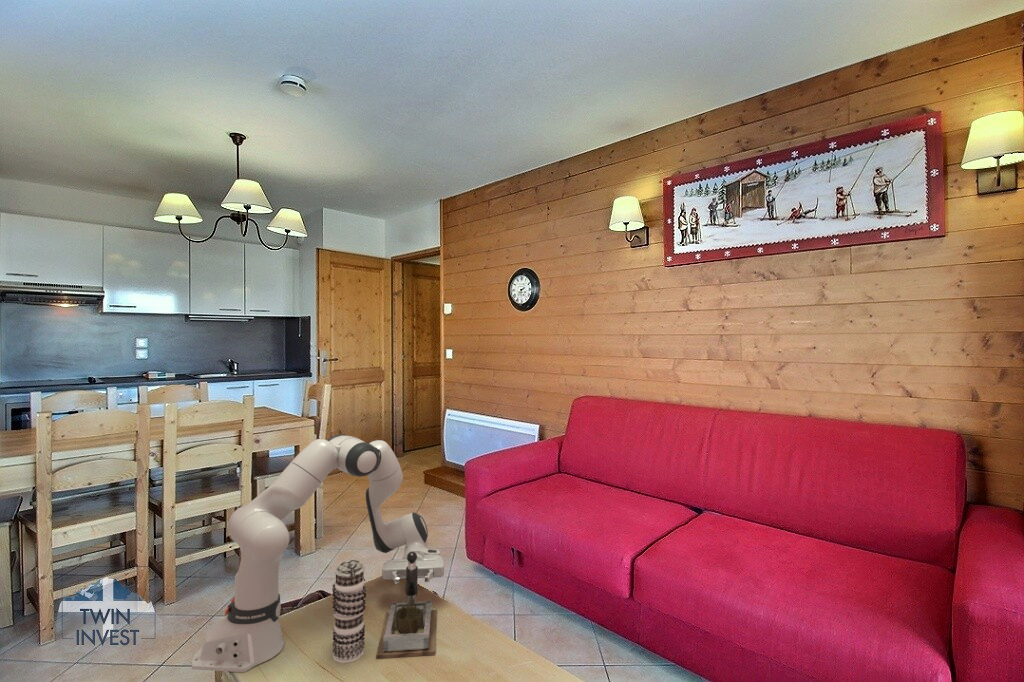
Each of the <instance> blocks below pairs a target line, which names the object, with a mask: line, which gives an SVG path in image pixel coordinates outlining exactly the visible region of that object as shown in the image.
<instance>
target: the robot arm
mask: <svg viewBox="0 0 1024 682" xmlns="http://www.w3.org/2000/svg"><path fill="white" fill-rule="evenodd" d="M394 452H395V451H393V449H392V448H391V447H390V445H389V444H388V443H387V442H386V441H384V440H381V439H378V440H377V439H376V440H373V441H371V442H369V443H368V442H367V441H364V440H361V439H360V438H358V437H357V436H351V435H348V434H343V433H341V434H340V433H339V434H334V435H333V436H330V437H329V438H328V439H323V438H318V439H314V440H313V441H311V443H309V444H308V445H307V446H305V447H304V448H303V449H302V450H301V451H299V453H298V454H297V455H296V456H295V457H294V458H293V459H292V461H291V462H290V463H288V465H287V466H286V467H285V468H284V469H283V471H282V472H281V473H280V475H278V477H277V478H276V479H275V480H274V481H273V482H272V483H271V484H270V485H269V486H268V487H267V488H266V489H264V491H261V493H259V494H258V495H257V496H256V497H255V498H254V499H252V500H251V501H250V502H248V503H247V504H245V505H242V506H241V507H238V508H237V509H236V510H235V511H233V513H232V514H231V515H230V517H229V520H228V523H227V525H228V526H227V527H228V528H227V529H228V532H229V535H230V538H231V540H233V541H234V543H235V544H237V545H238V547H239V549H240V553H241V555H240V563H239V567H238V571H237V572H236V574H235V576H234V596H233V597H232V599H231V600H230V603H229V604H228V605H227V608H226V609H225V611H224V616H225V617H224V618H222V619H221V620H219V621H218V622H217V623H215V625H214V626H212V628H211V629H210V630H209V631H208V632H207V634H206V636H205V638H204V641H203V643H202V645H201V646H200V647H199V648H198V650H197V651H196V652H195V654H194V656H193V657H192V660H191V665H190V666H191V670H197V671H198V670H199V671H215V672H228V673H229V672H232V673H245V672H247V671H249V670H250V669H252V668H254V667H255V666H257V665H260V664H263V663H265V662H267V661H268V660H271V659H272V658H274V657H275V656H277V655H278V654H279V653H280V652H281V651H282V650H283V648H284V646H285V640H284V638H283V633H282V629H281V623H280V622H281V621H280V615H281V604H282V603H281V595H280V593H279V588H280V587H279V584H280V583H279V582H280V580H279V579H280V567H281V561H282V557H283V554H284V553H285V551H286V550H287V548H288V546H289V543H290V538H291V537H290V533H289V531H288V528H287V526H286V525H285V522H283V520H284V519H285V518H286V517H288V516H289V515H290V514H291V513H293V512H294V511H296V510H298V509H301V508H302V507H304V506H305V505H306V503H307V502H308V501H309V499H311V497H312V496H313V495H314V493H315V492H316V491H317V489H318V488H319V487H320V486H321V485H322V483H323V482H324V481H325V479H326V478H327V477H328V475H329V474H330V473H331V472H333V471H334V470H336V469H338V470H339V471H341V472H343V473H346V474H349V475H350V476H353V477H359V478H360V477H367V478H368V481H369V486H368V487H367V489H366V490H365V502H366V508H367V514H368V518H369V522H370V526H371V531H372V541H373V545H374V547H375V549H376V550H377V551H378V552H380V553H384V554H388V553H389V552H392V551H393V550H396V549H397V548H400V547H403V546H404V550H403V553H402V559H399V558H398V559H389V560H387V561H386V562H384V563H383V566H382V569H381V578H382V580H385V581H387V580H393V581H394V584H400V582H401V580H406V567H408V562H409V561H408V560H407V555H408V554H409V553H410V552H415V553H416V554H417V560H416V566H417V567H418V579H424V583H429V582H430V580H431V579H433V578H442V577H444V576H445V562H444V559H443V557H442V556H441V555H442V554H441V551H440V550H436V549H430V545H429V539H428V536H429V533H428V532H429V531H428V527H427V525H426V521H425V519H424V518H423V516H421V515H420V514H419V513H416V512H414V511H412V512H410V513H408V514H407V513H406V514H404V515H402V516H400V517H397V518H394V519H391V520H389V521H384V520H383V515H382V511H381V505H383V504H384V502H386V501H387V500H388V499H389V498H391V497H392V496H393V495H395V493H396V492H398V490H399V489H400V488H401V486H402V484H403V479H404V474H403V470H402V468H401V465H400V462H399V460H398V457H397V456H396V454H395V453H394Z"/></svg>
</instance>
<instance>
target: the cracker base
mask: <svg viewBox="0 0 1024 682" xmlns="http://www.w3.org/2000/svg"><path fill="white" fill-rule="evenodd" d="M410 607H411V606H409V608H410ZM418 607H419V609H421V619H420V625H419V629H418V630H424V627H425V615H426V613H423V606H416V608H418ZM399 608H400V609H401V607H397V610H396V613H398V609H399ZM405 608H407V607H405ZM389 613H390V611H388V612H386V611H385V616H384V620H383V624H382V629H381V633H380V636H379V641H378V647H377V650H376V655H375V659H376V660H381V659H382V660H385V659H395V658H397V659H398V658H413V657H414V658H415V657H426V656H427V657H429V656H435V655H436V640H437V639H436V635H437V621H438V620H437V616H438V614H437V613H438V609H431V622H430V637H429V649H419V650H404V651H389V652H383V637H384V635H385V631H386V627H387V622H388V617H389ZM395 631H398V629H397V622H396V617H395V622H394V627H393V632H392V634H395Z"/></svg>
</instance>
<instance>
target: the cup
mask: <svg viewBox="0 0 1024 682" xmlns="http://www.w3.org/2000/svg"><path fill="white" fill-rule="evenodd" d="M420 619H421V609H419V607H418V608H416V606H413V605H412V606H411V607H410V608H409V605H408V606H407V608H405V607H404V606H402V607H401V609H400V608H399V609H398V613H396V622H397V629H398V630H397V631H398V634H407V633H418V631H419V630H420V629H419V625H420Z"/></svg>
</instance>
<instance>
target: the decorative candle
mask: <svg viewBox="0 0 1024 682" xmlns="http://www.w3.org/2000/svg"><path fill="white" fill-rule="evenodd" d="M364 571H366V566H365V565H364V564H363V563H362V562H360V561H359V560H356V559H351V560H350V559H349V560H346V561H343V562H342V563H340V564H339V565H338V566H337V567H336V569H335V570H334V573H335V581H334V584H332V589H331V590H332V594H331V595H332V605H333V606H332V609H333V617H334V618H335V619H334V624H333V625H334V626H333V627H334V628H333V631H332V635H333V638H332V640H333V642H332V658H333V660H334V661H335V662H338V663H339V664H340V663H341V664H347V663H352V662H355V661H357V660H359V659H360V658H362V657H363V655H364V654H365V647H366V646H365V645H366V643H365V639H366V638H365V635H366V634H365V632H366V625H365V623H364V619H365V618H364V612H365V611H366V604H367V603H366V601H367V600H366V598H367V593H366V592H367V587H366V586H365V582H366V579H365V575H364V574H365V573H364Z"/></svg>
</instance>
